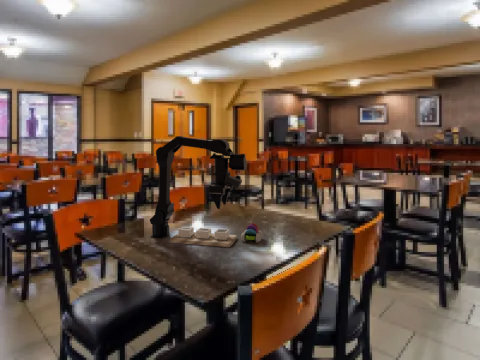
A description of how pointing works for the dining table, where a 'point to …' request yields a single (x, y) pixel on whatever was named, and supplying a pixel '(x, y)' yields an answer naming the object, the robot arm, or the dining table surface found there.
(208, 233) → the tile two
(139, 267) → the dining table surface
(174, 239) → the tan curved board
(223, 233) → the tile three
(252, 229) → the rainbow lobed toy
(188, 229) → the tile one
